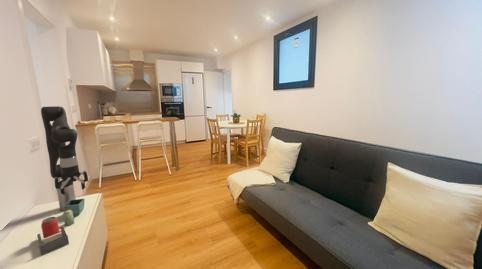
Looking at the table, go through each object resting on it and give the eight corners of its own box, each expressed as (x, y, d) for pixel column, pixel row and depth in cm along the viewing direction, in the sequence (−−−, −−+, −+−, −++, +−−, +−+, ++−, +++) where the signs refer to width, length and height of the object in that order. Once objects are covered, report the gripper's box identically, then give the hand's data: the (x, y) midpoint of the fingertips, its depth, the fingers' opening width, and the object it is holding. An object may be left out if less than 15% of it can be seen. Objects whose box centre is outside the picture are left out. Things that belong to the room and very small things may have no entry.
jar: (64, 224, 125) (62, 211, 123) (73, 221, 128) (71, 208, 127) (65, 227, 122) (63, 214, 121) (74, 223, 125) (72, 211, 124)
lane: (38, 239, 111) (36, 231, 110) (63, 230, 119) (62, 222, 118) (40, 255, 99) (39, 246, 99) (69, 243, 108) (67, 235, 107)
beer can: (42, 244, 107) (38, 224, 105) (47, 237, 113) (43, 218, 111) (58, 240, 110) (54, 221, 108) (62, 233, 116) (58, 214, 114)
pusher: (43, 245, 106) (42, 239, 105) (62, 238, 112) (61, 231, 111) (43, 246, 106) (42, 239, 105) (62, 238, 111) (61, 232, 111)
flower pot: (86, 209, 141) (84, 198, 140) (80, 216, 133) (79, 204, 132) (71, 211, 139) (69, 200, 137) (65, 218, 131) (62, 206, 129)
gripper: (83, 160, 118) (87, 185, 121) (51, 166, 107) (55, 193, 110) (86, 163, 113) (90, 189, 116) (52, 169, 103) (57, 198, 106)
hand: (73, 191), depth 113 cm, fingers open, 8 cm apart
